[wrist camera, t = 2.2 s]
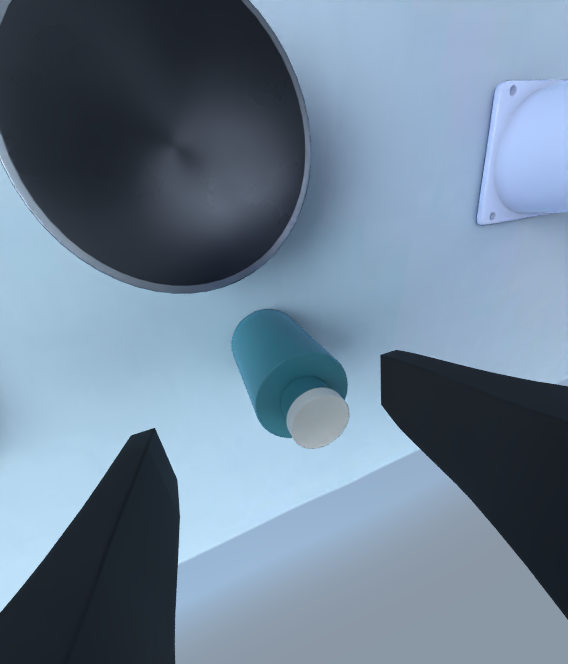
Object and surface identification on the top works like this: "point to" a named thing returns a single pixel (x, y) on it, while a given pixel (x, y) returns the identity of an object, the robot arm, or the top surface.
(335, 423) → the bottle
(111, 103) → the round lidded tin
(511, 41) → the top surface
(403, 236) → the top surface
